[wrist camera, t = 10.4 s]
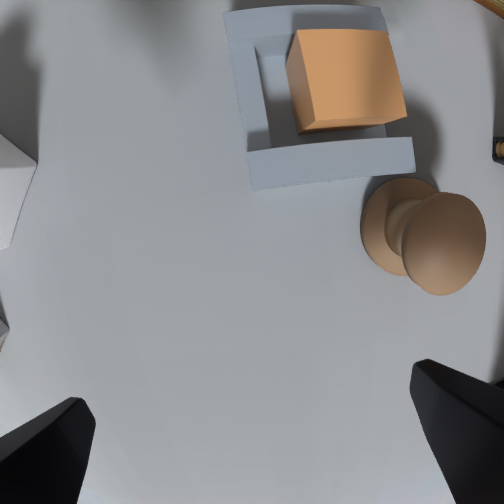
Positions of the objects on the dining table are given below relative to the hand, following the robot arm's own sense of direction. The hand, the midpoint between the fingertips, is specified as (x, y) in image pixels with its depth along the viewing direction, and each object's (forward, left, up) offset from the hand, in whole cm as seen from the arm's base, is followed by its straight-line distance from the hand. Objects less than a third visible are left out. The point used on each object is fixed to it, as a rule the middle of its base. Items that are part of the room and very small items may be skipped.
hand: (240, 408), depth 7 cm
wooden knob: (+1, -10, -12) cm, 16 cm away
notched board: (+9, -5, -12) cm, 16 cm away
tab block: (+9, -6, -11) cm, 15 cm away
